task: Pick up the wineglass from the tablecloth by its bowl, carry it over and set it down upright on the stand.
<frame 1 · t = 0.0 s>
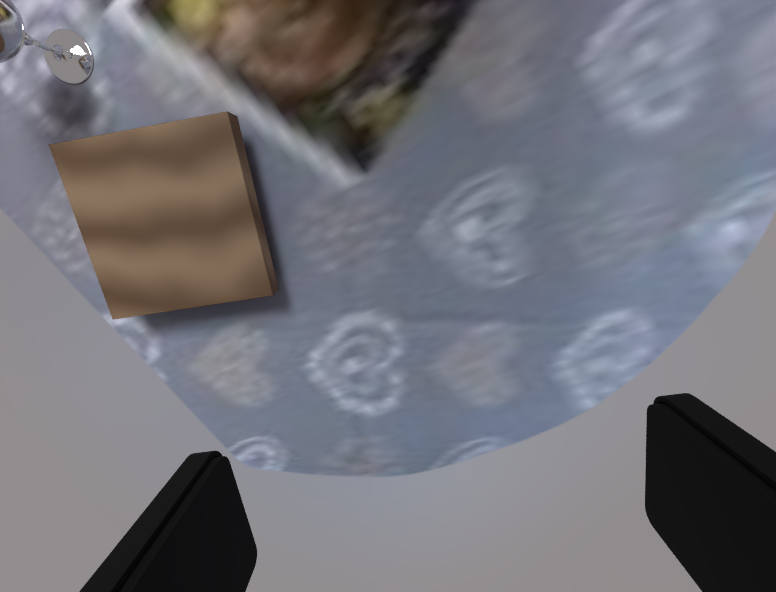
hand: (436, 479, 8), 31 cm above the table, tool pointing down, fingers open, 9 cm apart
stand: (192, 220, 38), on the table
wineglass: (71, 57, 35), on the table
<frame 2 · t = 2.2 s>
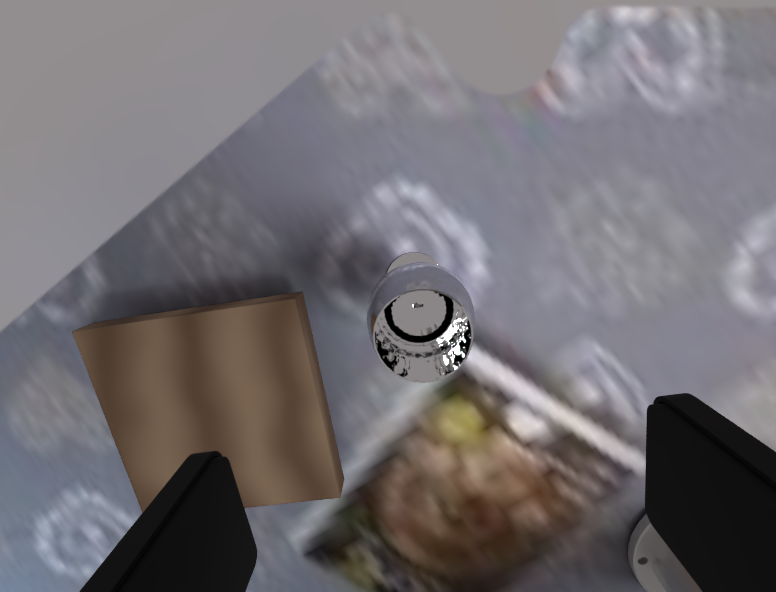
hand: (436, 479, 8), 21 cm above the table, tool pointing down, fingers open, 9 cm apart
stand: (238, 388, 32), on the table
wineglass: (414, 280, 29), on the table
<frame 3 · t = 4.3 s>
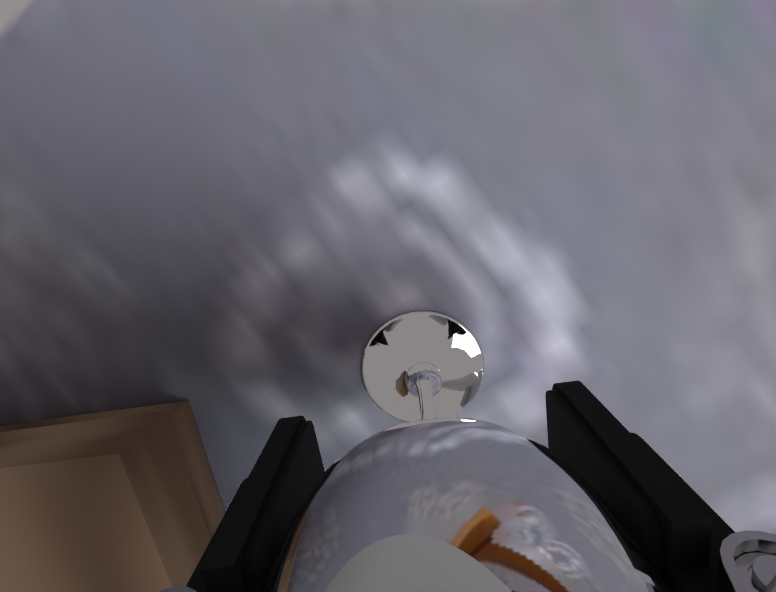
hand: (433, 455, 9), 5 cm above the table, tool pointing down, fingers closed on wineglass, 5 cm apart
stand: (83, 560, 17), on the table
wineglass: (421, 366, 14), on the table, touching gripper
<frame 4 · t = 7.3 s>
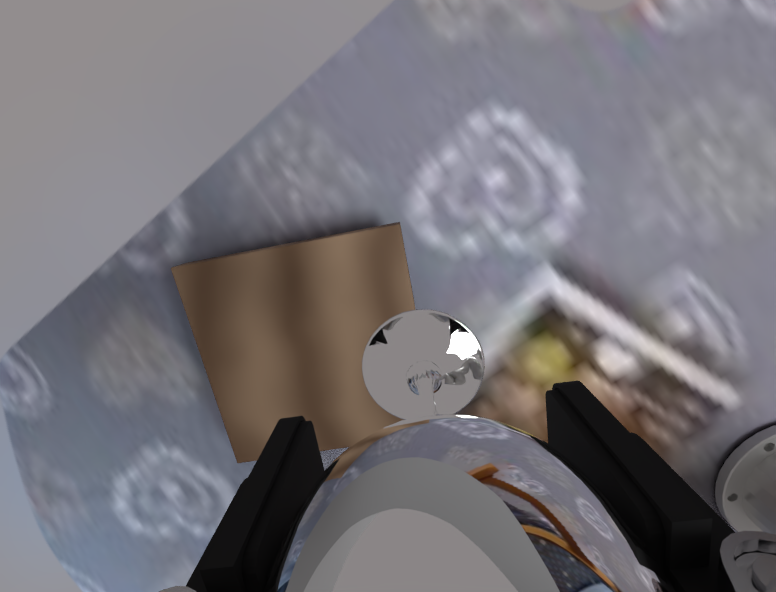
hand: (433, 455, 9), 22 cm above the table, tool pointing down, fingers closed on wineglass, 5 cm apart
stand: (323, 333, 32), on the table
wineglass: (422, 364, 14), point 17 cm above the table, touching gripper
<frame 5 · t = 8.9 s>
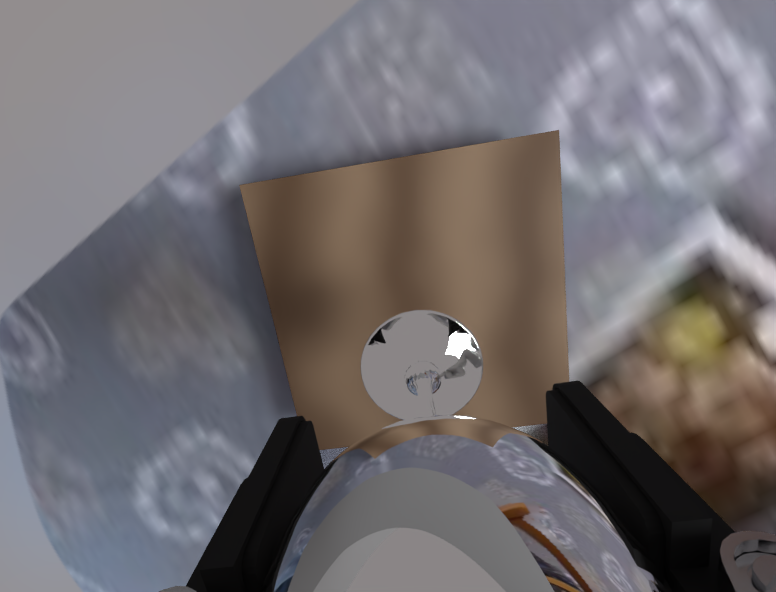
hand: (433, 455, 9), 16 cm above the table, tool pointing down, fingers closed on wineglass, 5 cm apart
stand: (413, 290, 25), on the table
wineglass: (421, 365, 14), point 11 cm above the table, touching gripper
when the fingers open (11 cm above the table, at t = 10.3 s): wineglass drops 1 cm, resting on stand.
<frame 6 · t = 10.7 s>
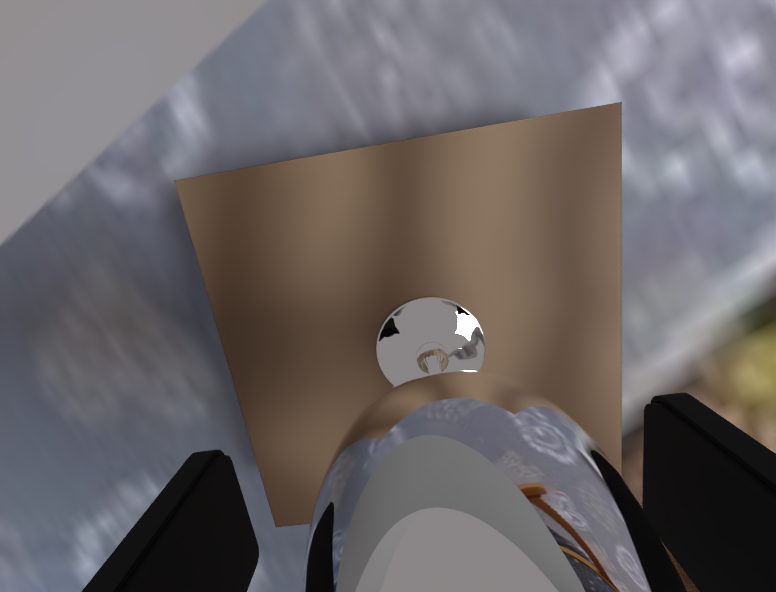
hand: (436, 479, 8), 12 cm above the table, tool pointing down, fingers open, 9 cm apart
stand: (415, 315, 20), on the table
wineglass: (430, 347, 15), point 4 cm above the table, touching stand
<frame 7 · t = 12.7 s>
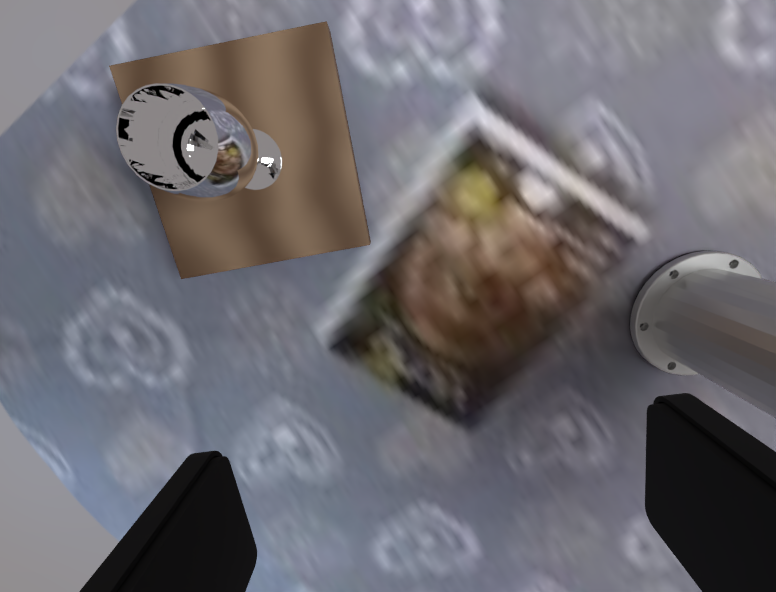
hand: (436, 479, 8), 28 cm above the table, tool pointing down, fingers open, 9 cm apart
stand: (265, 164, 33), on the table
wineglass: (254, 160, 29), point 4 cm above the table, touching stand
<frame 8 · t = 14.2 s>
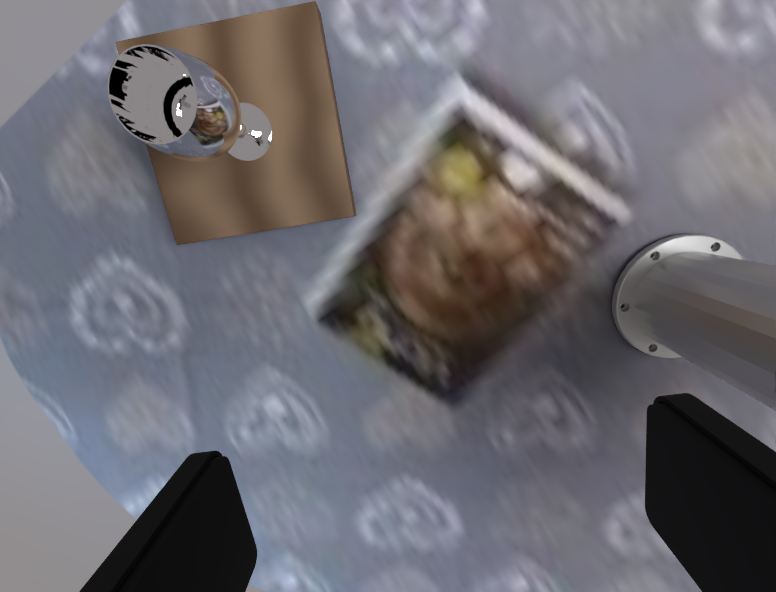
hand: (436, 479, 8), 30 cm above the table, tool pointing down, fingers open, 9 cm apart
stand: (259, 140, 35), on the table
wineglass: (246, 132, 31), point 4 cm above the table, touching stand
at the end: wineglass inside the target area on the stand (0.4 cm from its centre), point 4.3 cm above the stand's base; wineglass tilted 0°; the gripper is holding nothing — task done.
